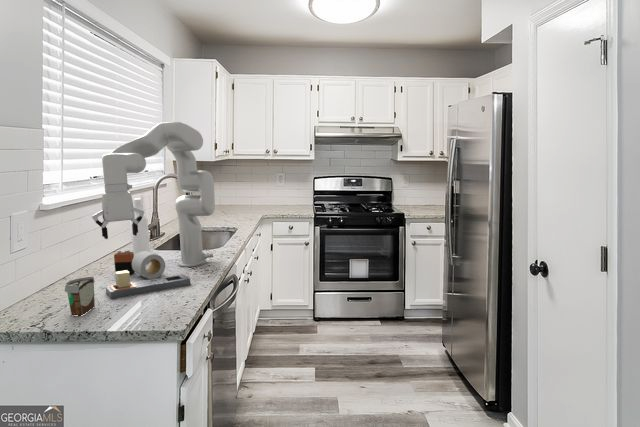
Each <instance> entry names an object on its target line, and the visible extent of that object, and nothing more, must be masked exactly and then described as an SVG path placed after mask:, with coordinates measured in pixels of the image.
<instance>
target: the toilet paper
mask: <svg viewBox="0 0 640 427" xmlns="http://www.w3.org/2000/svg"><path fill="white" fill-rule="evenodd" d="M149 260H150V261H149ZM148 261H149V262H150V266H149V267H148V268H146V267H147V264H148V263H149V262H148ZM132 268H133V270H134V271H135V273H136V274H137V275H139V276H141V277H144V278H146V279H147V280H150V279H156V278H160V277H161V276H162V274H164V272H165V269H166V261H165V259H164V258H163V257H162V256H161V255H159V254H157V253H153V252H151V251H150V252H148V251H142V252H139V253H137V254H136V255H135V256H134V258H133V260H132Z"/></svg>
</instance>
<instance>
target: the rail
mask: <svg viewBox="0 0 640 427" xmlns="http://www.w3.org/2000/svg"><path fill="white" fill-rule="evenodd" d="M191 285H192V284H191V278H190V277H189V276H187V275H185V274H183V273H182V274H181V273H180V274H175V275H169V276H163V277H158V278H155V279H143V280H137V281H130V287H127V288H121V289H116V284H111V285H108V286H107V285H106V286H105V294H106V295H107V296H108V298H109V299H110V298H111V299H110V300H114V298H115V299H119V298H127V297H131V296H136V295H143V294H148V293H155V292H159V291H164V290H169V289H170V290H171V289H176V288H180V287H188V286H191Z"/></svg>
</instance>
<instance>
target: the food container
mask: <svg viewBox="0 0 640 427" xmlns="http://www.w3.org/2000/svg"><path fill="white" fill-rule="evenodd" d="M94 283H95V278H94V276H86V277H85V276H84V277H80V278H75V279H72V280H69V281H67V282H66V283H65V285H64V292H65V293H67V297H68V304H69V309H70V315H71V314H72V315H78V316H81V315H83V314H85V313H86V312H88V311H89V310H90V309H92V308H93V307H94V308H95V307H96V305H95V304H96V302H95V301H96V300H95V284H94ZM94 308H93V309H94ZM93 309H92V310H93ZM89 312H90V311H89ZM89 312H88V313H89ZM72 315H71V316H72Z"/></svg>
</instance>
